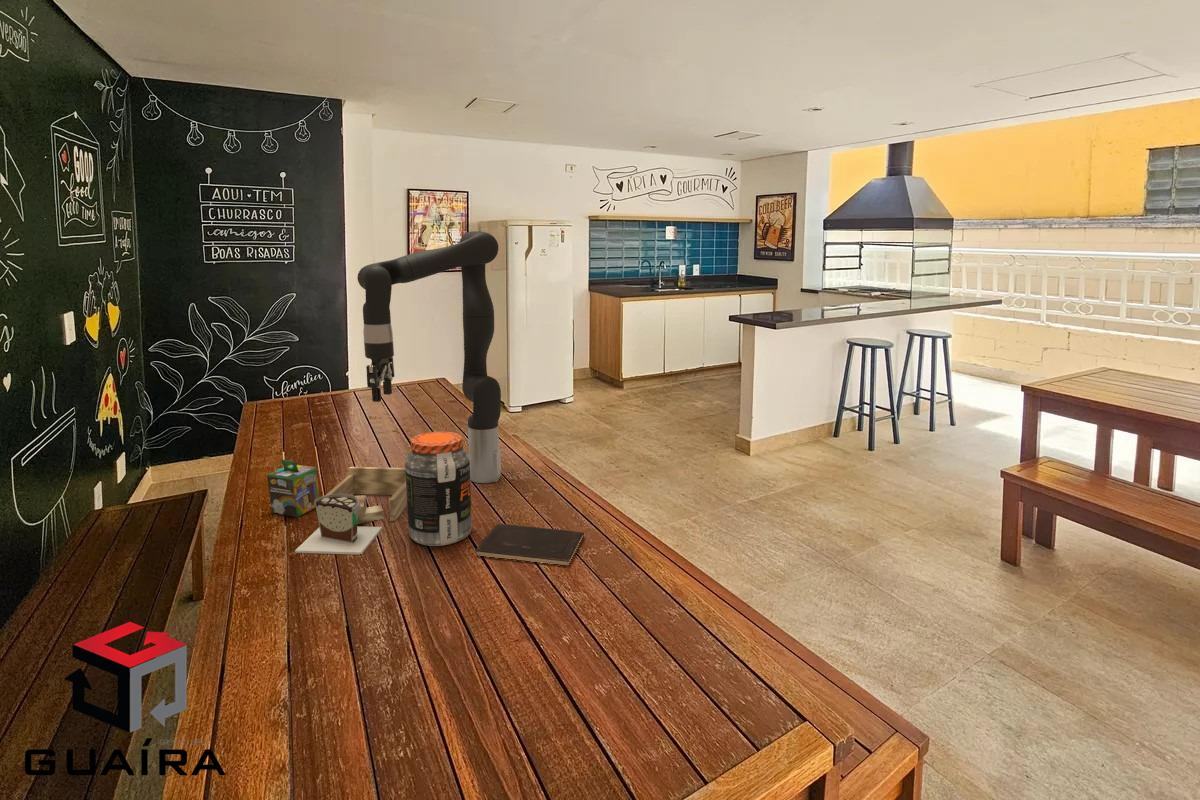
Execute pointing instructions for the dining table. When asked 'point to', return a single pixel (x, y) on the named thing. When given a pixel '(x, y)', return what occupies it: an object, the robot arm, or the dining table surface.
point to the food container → (338, 516)
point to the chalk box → (293, 489)
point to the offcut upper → (361, 505)
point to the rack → (376, 485)
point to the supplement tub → (438, 489)
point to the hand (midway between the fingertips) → (382, 397)
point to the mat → (339, 543)
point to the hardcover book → (530, 544)
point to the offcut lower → (372, 514)
